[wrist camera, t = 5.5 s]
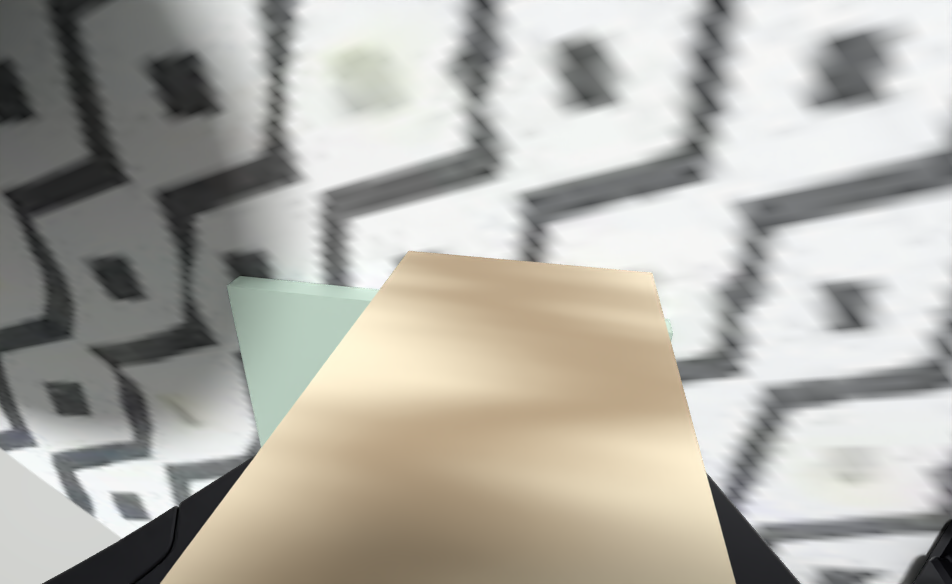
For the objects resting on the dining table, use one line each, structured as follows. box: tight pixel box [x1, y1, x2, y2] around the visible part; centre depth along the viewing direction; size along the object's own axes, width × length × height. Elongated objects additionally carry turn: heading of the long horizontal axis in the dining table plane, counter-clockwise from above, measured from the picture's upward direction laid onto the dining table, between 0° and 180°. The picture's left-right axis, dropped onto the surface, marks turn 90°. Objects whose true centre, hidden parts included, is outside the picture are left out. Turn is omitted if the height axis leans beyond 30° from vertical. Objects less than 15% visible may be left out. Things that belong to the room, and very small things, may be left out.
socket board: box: [227, 276, 673, 448], centre depth 25 cm, size 18×18×3 cm
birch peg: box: [160, 251, 736, 584], centre depth 7 cm, size 4×4×8 cm
